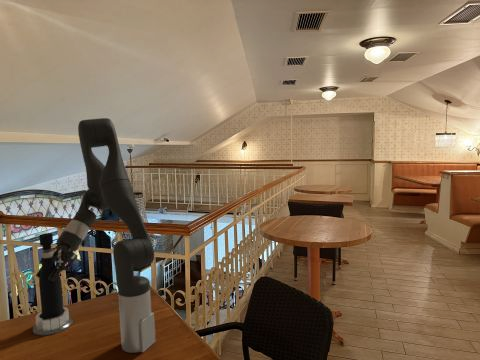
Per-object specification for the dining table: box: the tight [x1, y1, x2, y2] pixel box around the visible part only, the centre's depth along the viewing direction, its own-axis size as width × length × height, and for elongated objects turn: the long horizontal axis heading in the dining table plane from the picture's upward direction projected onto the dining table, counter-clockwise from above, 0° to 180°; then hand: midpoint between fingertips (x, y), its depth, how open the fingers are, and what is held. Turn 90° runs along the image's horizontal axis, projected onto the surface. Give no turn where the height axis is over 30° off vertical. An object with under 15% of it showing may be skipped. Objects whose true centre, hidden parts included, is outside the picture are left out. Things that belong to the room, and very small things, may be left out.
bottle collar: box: [32, 306, 74, 337], centre depth 114 cm, size 12×12×5 cm
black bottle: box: [38, 232, 64, 319], centre depth 113 cm, size 6×6×30 cm
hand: (44, 278), depth 111 cm, fingers closed on black bottle, 6 cm apart
